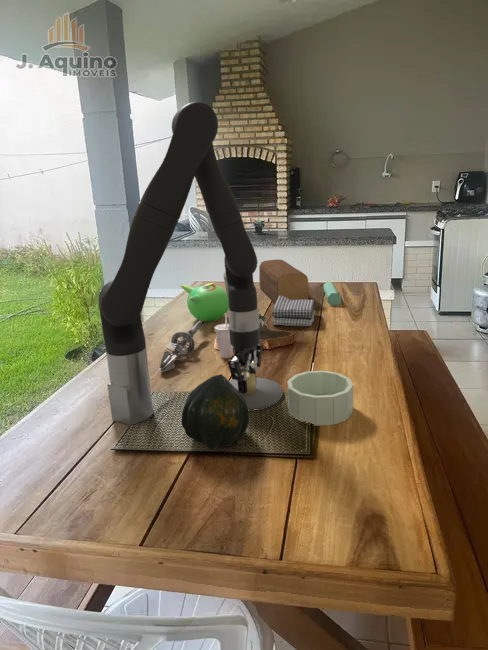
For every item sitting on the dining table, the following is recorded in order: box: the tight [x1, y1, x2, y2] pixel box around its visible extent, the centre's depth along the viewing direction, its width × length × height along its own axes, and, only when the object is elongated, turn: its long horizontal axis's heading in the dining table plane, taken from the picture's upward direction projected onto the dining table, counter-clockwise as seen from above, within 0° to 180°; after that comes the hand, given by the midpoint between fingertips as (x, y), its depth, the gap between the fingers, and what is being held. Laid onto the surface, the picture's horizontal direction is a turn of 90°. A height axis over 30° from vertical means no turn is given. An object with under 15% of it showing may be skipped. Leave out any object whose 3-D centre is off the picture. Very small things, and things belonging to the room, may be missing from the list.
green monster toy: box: [180, 281, 229, 322], centre depth 197 cm, size 18×17×15 cm
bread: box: [258, 259, 310, 304], centre depth 226 cm, size 14×34×14 cm, turn 11°
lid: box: [228, 371, 284, 410], centre depth 133 cm, size 18×18×6 cm
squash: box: [180, 373, 250, 450], centre depth 112 cm, size 14×15×15 cm
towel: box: [271, 296, 316, 327], centre depth 193 cm, size 15×18×8 cm
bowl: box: [287, 370, 354, 427], centre depth 123 cm, size 15×15×7 cm
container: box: [323, 281, 342, 307], centre depth 221 cm, size 6×6×25 cm
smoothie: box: [214, 312, 234, 359], centre depth 159 cm, size 6×6×14 cm
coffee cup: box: [222, 270, 228, 296], centre depth 228 cm, size 8×9×12 cm
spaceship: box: [158, 319, 203, 373], centre depth 163 cm, size 8×35×8 cm
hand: (247, 388), depth 133 cm, fingers closed on lid, 4 cm apart
